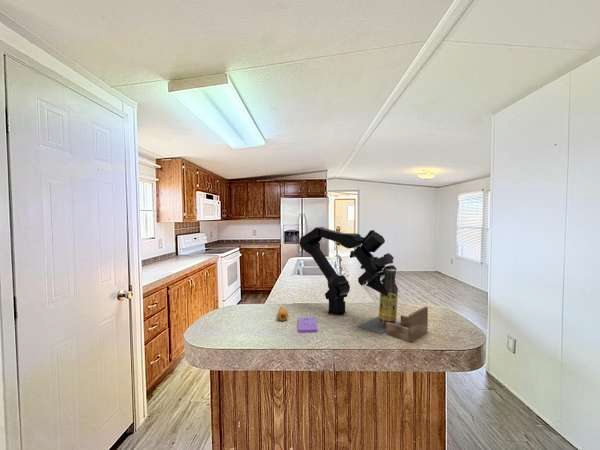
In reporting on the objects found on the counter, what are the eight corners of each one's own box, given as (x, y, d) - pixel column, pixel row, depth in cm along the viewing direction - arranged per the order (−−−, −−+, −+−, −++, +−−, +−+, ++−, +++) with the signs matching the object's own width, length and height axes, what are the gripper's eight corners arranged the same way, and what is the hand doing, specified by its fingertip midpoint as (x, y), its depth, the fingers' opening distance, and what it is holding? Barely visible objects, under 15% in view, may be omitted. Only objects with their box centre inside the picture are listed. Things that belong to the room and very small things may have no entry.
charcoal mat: (357, 326, 113) (357, 325, 113) (378, 317, 123) (378, 316, 123) (381, 334, 106) (381, 333, 106) (401, 323, 116) (401, 322, 116)
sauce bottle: (377, 324, 110) (378, 270, 109) (379, 318, 116) (380, 267, 115) (396, 326, 108) (397, 271, 107) (397, 320, 114) (398, 268, 113)
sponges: (315, 321, 121) (315, 316, 121) (317, 334, 108) (317, 328, 108) (297, 321, 121) (297, 317, 121) (298, 334, 108) (298, 329, 108)
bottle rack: (385, 334, 106) (385, 309, 106) (402, 325, 115) (402, 301, 114) (411, 342, 99) (411, 315, 99) (427, 332, 108) (427, 307, 107)
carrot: (286, 323, 119) (290, 312, 120) (275, 319, 119) (279, 309, 119) (284, 312, 139) (288, 302, 139) (275, 308, 139) (279, 299, 139)
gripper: (365, 248, 107) (393, 285, 100) (392, 244, 120) (419, 277, 113) (347, 267, 113) (372, 303, 106) (374, 261, 126) (398, 293, 119)
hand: (391, 293), depth 111 cm, fingers closed on sauce bottle, 6 cm apart
